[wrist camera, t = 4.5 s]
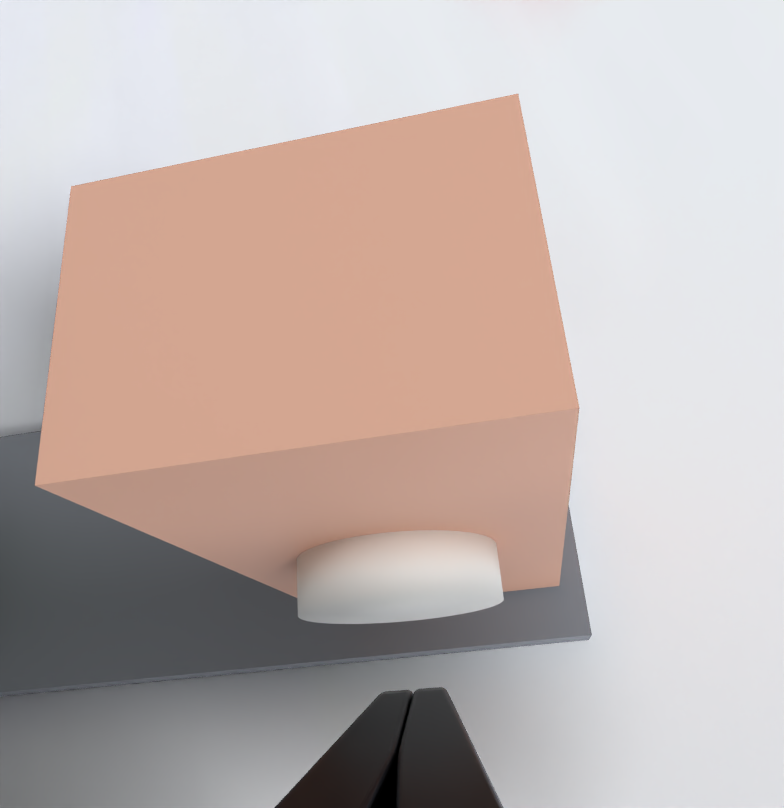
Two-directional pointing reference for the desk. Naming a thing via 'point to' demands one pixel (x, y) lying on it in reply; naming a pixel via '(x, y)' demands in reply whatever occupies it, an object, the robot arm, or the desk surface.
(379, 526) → the peach button block
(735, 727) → the desk surface
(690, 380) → the desk surface
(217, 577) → the grey flat slab
